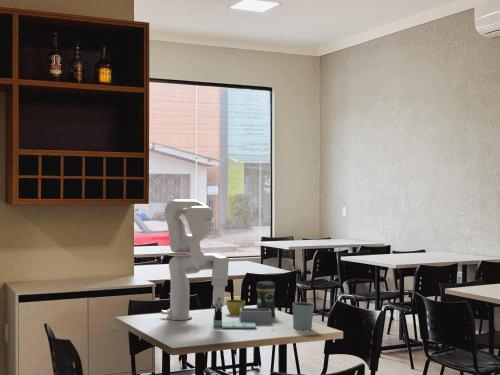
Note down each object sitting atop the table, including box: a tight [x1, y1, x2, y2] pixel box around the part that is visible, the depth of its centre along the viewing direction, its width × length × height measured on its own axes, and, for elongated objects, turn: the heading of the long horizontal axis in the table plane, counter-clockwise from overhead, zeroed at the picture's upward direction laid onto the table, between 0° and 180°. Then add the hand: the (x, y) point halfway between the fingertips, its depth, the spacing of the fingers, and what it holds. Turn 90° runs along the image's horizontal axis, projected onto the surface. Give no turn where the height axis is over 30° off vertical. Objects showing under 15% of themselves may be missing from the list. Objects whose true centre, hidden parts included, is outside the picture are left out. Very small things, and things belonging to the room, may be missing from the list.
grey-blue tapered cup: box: [292, 301, 315, 332], centre depth 330 cm, size 10×10×12 cm
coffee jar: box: [255, 280, 276, 318], centre depth 360 cm, size 10×8×19 cm
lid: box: [212, 315, 257, 329], centre depth 330 cm, size 20×11×5 cm, turn 93°
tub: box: [239, 307, 273, 325], centre depth 343 cm, size 15×10×6 cm, turn 94°
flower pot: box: [225, 299, 246, 316], centre depth 366 cm, size 10×10×7 cm
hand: (218, 318), depth 330 cm, fingers open, 9 cm apart
